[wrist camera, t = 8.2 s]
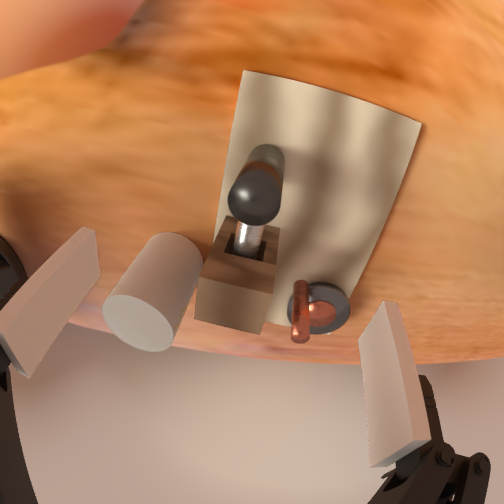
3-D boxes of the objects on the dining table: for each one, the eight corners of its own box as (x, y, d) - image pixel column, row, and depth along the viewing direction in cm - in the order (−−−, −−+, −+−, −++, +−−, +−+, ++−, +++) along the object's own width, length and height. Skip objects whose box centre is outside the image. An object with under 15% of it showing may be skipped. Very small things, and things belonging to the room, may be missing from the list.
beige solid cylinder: (165, 289, 41) (132, 354, 31) (134, 242, 38) (88, 302, 28) (214, 276, 39) (188, 347, 29) (184, 223, 35) (142, 287, 25)
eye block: (205, 302, 42) (181, 371, 32) (245, 70, 25) (214, 65, 15) (329, 329, 42) (332, 401, 32) (418, 122, 25) (479, 152, 15)
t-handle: (227, 266, 36) (206, 328, 28) (252, 140, 28) (232, 171, 19) (256, 273, 36) (244, 338, 28) (288, 148, 28) (286, 184, 19)
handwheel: (268, 286, 37) (260, 343, 29) (328, 261, 34) (335, 318, 26) (303, 334, 41) (302, 389, 33) (357, 315, 38) (366, 371, 30)
